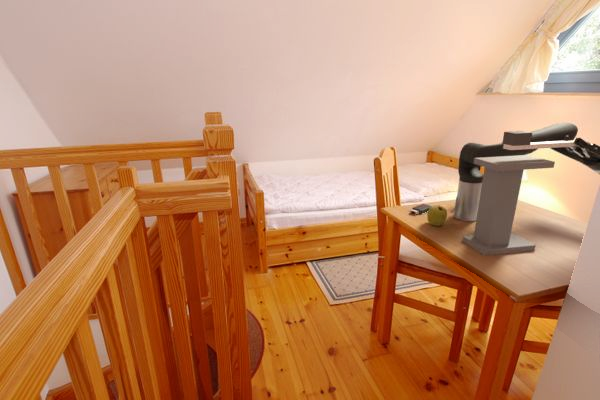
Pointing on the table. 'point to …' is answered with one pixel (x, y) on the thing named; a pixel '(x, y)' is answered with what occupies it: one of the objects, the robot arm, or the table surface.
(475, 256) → the table surface
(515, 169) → the gray stand
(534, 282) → the table surface
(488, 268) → the table surface
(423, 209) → the usb drive
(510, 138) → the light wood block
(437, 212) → the apple
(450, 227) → the table surface
